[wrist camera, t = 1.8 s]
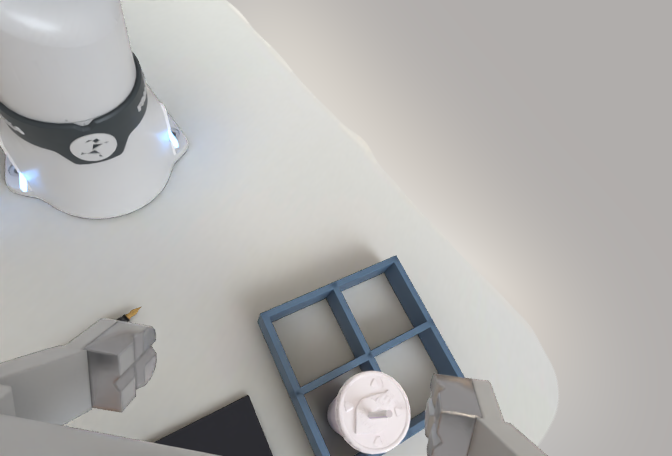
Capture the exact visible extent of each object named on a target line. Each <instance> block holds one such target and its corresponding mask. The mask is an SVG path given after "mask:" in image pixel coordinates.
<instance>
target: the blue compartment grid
mask: <svg viewBox="0 0 672 456" xmlns="http://www.w3.org/2000/svg"><path fill="white" fill-rule="evenodd" d="M382 273H385V275H386V277H387V279H388V281H389V282H390V284H391V286H392V288H393V290H394V292H395V293H396V295H397V297H398V299H399V301H400V303H401V305H402V306H403V308H404V310H405V312H406V314H407V316H408V317H409V319H410V321H411V323H412V325H413V327H414V328H413V329H411V330H409V331H408V332H406V333H404V334H402V335H400V336H398V337H396V338H394V339H392V340H390V341H388V342H387V343H385V344H383V345H381V346H379V347H377V348H375V349H373V350H370V348H369V346H368V344H367V342H366V340H365V338H364V336H363V334H362V332H361V330H360V328H359V326H358V324H357V322H356V320H355V318H354V316H353V314H352V312H351V310H350V308H349V306H348V304H347V302H346V300H345V299H344V297H343V295H342V293H341V291H343V290H346V289H348V288H350V287H352V286H355V285H357V284H359V283H361V282H364V281H366V280H368V279H371V278H373V277H375V276H377V275H380V274H382ZM325 298H326V299H327V301H328V303H329V305H330V307H331V309H332V311H333V313H334V315H335V317H336V319H337V321H338V323H339V325H340V328H341V330H342V332H343V334H344V336H345V338H346V340H347V342H348V344H349V346H350V348H351V350H352V352H353V354H354V356H355V358H356V359H354V360H352V361H350V362H348V363H346V364H344V365H343V366H341V367H339V368H337V369H335V370H333V371H331V372H329V373H327V374H325V375H323V376H321V377H320V378H318V379H316V380H314V381H312V382H310V383H308V384H306V385H304V386H302V387H300V385H299V383H298V381H297V379H296V376H295V374H294V372H293V370H292V367H291V365H290V363H289V360H288V358H287V356H286V354H285V351H284V349H283V347H282V345H281V342H280V340H279V338H278V336H277V333H276V331H275V329H274V326H273V324H272V322H273V321H276V320H278V319H280V318H282V317H285V316H287V315H289V314H291V313H294V312H296V311H298V310H301V309H303V308H305V307H307V306H310V305H312V304H314V303H316V302H319V301H321V300H323V299H325ZM258 324H259V326H260V329H261V331H262V333H263V336H264V338H265V340H266V343H267V345H268V347H269V349H270V352H271V354H272V356H273V359H274V361H275V363H276V366H277V368H278V370H279V373H280V375H281V377H282V380H283V382H284V384H285V387H286V389H287V391H288V394H289V396H290V398H291V401H292V403H293V405H294V407H295V410H296V412H297V414H298V417H299V419H300V421H301V424H302V426H303V428H304V431H305V433H306V435H307V438H308V440H309V442H310V445H311V447H312V449H313V452H314V454H315V456H330V453H329V451H328V449H327V447H326V444H325V442H324V440H323V437H322V435H321V433H320V431H319V428H318V426H317V424H316V422H315V419H314V417H313V415H312V413H311V410H310V408H309V406H308V404H307V401H306V399H305V397H304V394H306V393H308V392H309V391H311V390H313V389H315V388H317V387H319V386H321V385H323V384H324V383H326V382H328V381H330V380H332V379H334V378H336V377H338V376H340V375H341V374H343V373H345V372H347V371H349V370H351V369H353V368H355V367H356V366H358V365H359V366H360V368H361V370H362V372H365V371H379V372H381V370H380V368H379V366H378V364H377V362H376V360H375V358H374V357H375V356H377V355H379V354H381V353H383V352H385V351H387V350H388V349H390V348H392V347H394V346H396V345H398V344H400V343H402V342H403V341H405V340H407V339H409V338H411V337H413V336H415V335H417V334H418V336H419V338H420V339H421V341H422V343H423V345H424V347H425V349H426V350H427V352H428V354H429V356H430V358H431V360H432V361H433V363H434V365H435V367H436V369H437V371H438V373H439V374H442V375H449V376H455V377H462V378H465V377H464V375H463V374H462V372H461V370H460V368H459V366H458V365H457V363H456V361H455V359H454V358H453V356H452V354H451V352H450V350H449V349H448V347H447V345H446V343H445V341H444V340H443V338H442V336H441V334H440V333H439V331H438V329H437V327H436V325H435V324H434V322H433V320H432V318H431V317H430V315H429V313H428V311H427V309H426V308H425V306H424V304H423V302H422V300H421V299H420V297H419V295H418V293H417V292H416V290H415V288H414V286H413V284H412V283H411V281H410V279H409V277H408V275H407V274H406V272H405V270H404V268H403V267H402V265H401V263H400V261H399V259H398V258H397V256H393V257H391V258H389V259H386V260H384V261H382V262H379V263H377V264H375V265H372V266H370V267H368V268H365V269H363V270H361V271H358V272H356V273H354V274H351V275H349V276H347V277H344V278H342V279H340V280H337V281H335V282H333V283H330V284H328V285H326V286H323V287H321V288H319V289H316V290H314V291H312V292H309V293H307V294H305V295H303V296H300V297H298V298H296V299H293V300H291V301H289V302H286V303H284V304H282V305H279V306H277V307H275V308H272V309H270V310H268V311H265V312H263V313H260V316H259V319H258ZM425 412H426V410H425V411H424V412H422V413H421V414H419V415H417V416H416V417H414V418H413V419H411V420H410V424H409V428H408V431H407V433H406V435H405V437H404V438H403V440H402V441H401V442H400V443H402V442H404V441H405V440H407V439H408V438H410V437H411V436H413V435H414V434H416V433H417V432H419V431H421V430H422V429H424V428H425ZM400 443H399V444H400ZM399 444H398V445H399ZM385 453H387V452H385ZM385 453H380V454H368V453H362V452H358V453H357V454H355V455H354V456H382V455H383V454H385Z"/></svg>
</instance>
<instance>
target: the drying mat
mask: <svg viewBox="0 0 672 456" xmlns="http://www.w3.org/2000/svg"><path fill="white" fill-rule="evenodd" d="M154 443H157V444H162V445H167V446H173V447H178V448H183V449H188V450H194V451H199V452H204V453H209V454H215V455H220V456H273V455H272V453H271V450H270V448H269V445H268V443H267V440H266V438H265V435H264V433H263V430H262V428H261V425H260V423H259V420H258V418H257V415H256V413H255V410H254V408H253V405H252V403H251V400H250V398H249V396H248V395H247V396H245V397H243V398H241V399H239V400H237V401H235V402H233V403H231V404H229V405H228V406H226V407H224V408H222V409H220V410H218V411H216V412H214V413H212V414H210V415H208V416H206V417H204V418H202V419H200V420H198V421H196V422H194V423H192V424H190V425H188V426H186V427H184V428H182V429H180V430H178V431H176V432H174V433H172V434H170V435H168V436H166V437H164V438H162V439H160V440H158V441H156V442H154Z"/></svg>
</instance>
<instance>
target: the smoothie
mask: <svg viewBox="0 0 672 456" xmlns="http://www.w3.org/2000/svg"><path fill="white" fill-rule="evenodd" d="M410 416H411V415H410V405H409V401H408V398H407V395H406V393H405V391H404V389H403V388H402V386H401V385H400V384H399V383H398V382H397V381H396V380H395V379H394V378H392V377H391V376H389V375H388V374H385V373H383V372H379V371H365V372H360V373H358V374H355V375H353V376H352V377H351V378H349V379H348V380H347V381H346V382H345V383H344V384H343V386H342V387H341V389H340V391H339V393H338V395H337V396H336V398H335V399H334V400H333V401H332V402H331V403H330V405H329V407H328V411H327V418H328V422H329V424H330V426H331V428H332V429H333V430H334V431H335V432H337V433H338V434H340V435H341V436H343V438H344V439H345V441H346V442H347V443H348V444H350V445H351V446H352V447H353V448H354V449H356V450H358V451H360V452H362V453H368V454H380V453H385V452H388V451H390V450H392V449H393V448H395V447H396V446H397V445H398V444H399V443H400V442H401V441H402V440H403V438H404V437H405V435H406V433H407V431H408V428H409V424H410Z"/></svg>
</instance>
